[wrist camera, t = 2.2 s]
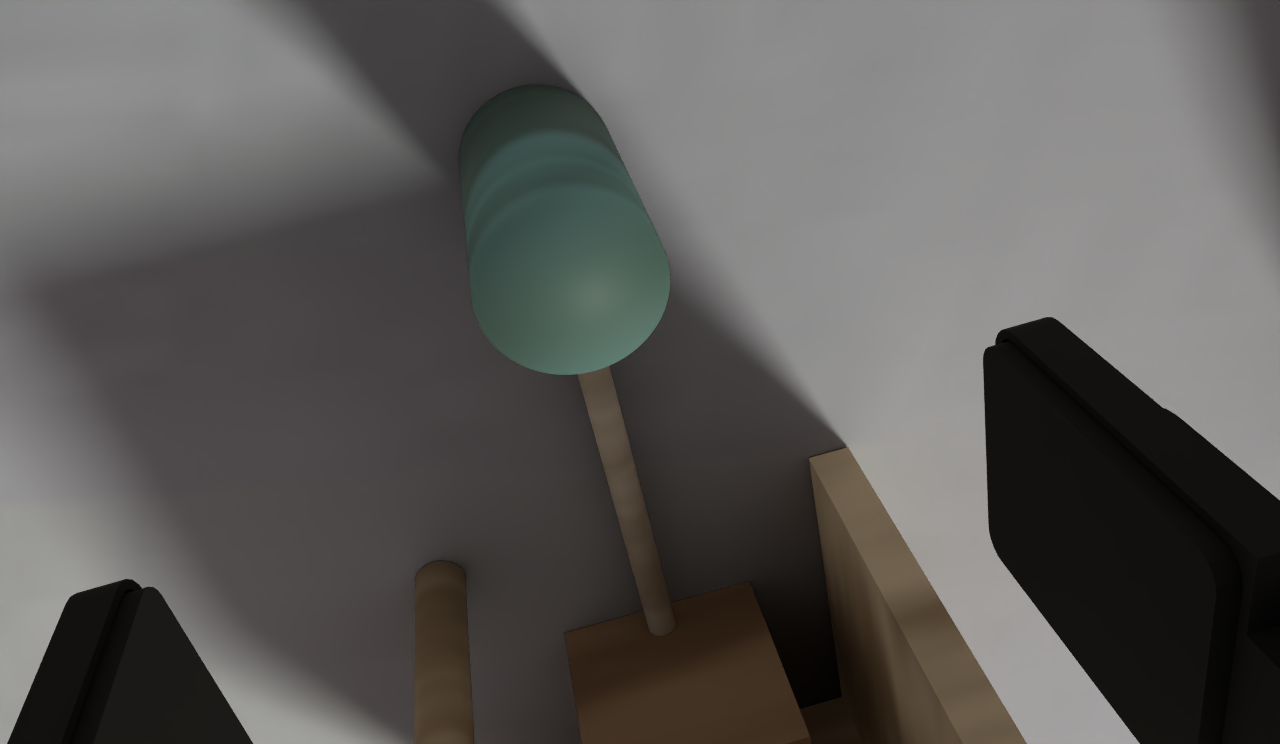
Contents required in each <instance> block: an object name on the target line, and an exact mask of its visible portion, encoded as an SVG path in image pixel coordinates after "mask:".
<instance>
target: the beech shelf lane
mask: <svg viewBox="0 0 1280 744" xmlns="http://www.w3.org/2000/svg"><path fill="white" fill-rule="evenodd" d="M809 463H810V470H811V478H812V485H813V492H814V499H815V506H816V513H817V521H818V528H819V535H820V542H821V549H822V557H823V564H824V571H825V578H826V585H827V592H828V600H829V607H830V614H831V621H832V628H833V636H834V643H835V650H836V657H837V664H838V671H839V679H840V686H841V693H842V697H840V698H837V699H833V700H830V701H826V702H823V703H819V704H816V705H812V706H809V707H805V708H802V709H800V712H801V714H802V717H803V719H804V722H805V725H806V727H807V730H808V732H809V735H810V738H811V744H1027V743H1026V742H1025V740H1024V738H1023V737H1022V735H1021V733H1020V732H1019V730H1018V728H1017V727H1016V725H1015V723H1014V722H1013V720H1012V718H1011V717H1010V715H1009V713H1008V712H1007V710H1006V708H1005V707H1004V705H1003V703H1002V702H1001V700H1000V698H999V697H998V695H997V693H996V692H995V690H994V688H993V687H992V685H991V683H990V682H989V680H988V679H987V677H986V675H985V674H984V672H983V670H982V669H981V667H980V665H979V664H978V662H977V660H976V659H975V657H974V655H973V654H972V652H971V650H970V649H969V647H968V645H967V644H966V642H965V640H964V639H963V637H962V635H961V634H960V632H959V630H958V629H957V627H956V625H955V624H954V622H953V620H952V619H951V617H950V615H949V614H948V612H947V611H946V609H945V607H944V606H943V604H942V602H941V601H940V599H939V597H938V596H937V594H936V592H935V591H934V589H933V587H932V586H931V584H930V582H929V581H928V579H927V577H926V576H925V574H924V572H923V571H922V569H921V567H920V566H919V564H918V562H917V561H916V559H915V557H914V556H913V554H912V552H911V551H910V549H909V547H908V546H907V544H906V543H905V541H904V539H903V538H902V536H901V534H900V533H899V531H898V529H897V528H896V526H895V524H894V523H893V521H892V519H891V518H890V516H889V514H888V513H887V511H886V509H885V508H884V506H883V504H882V503H881V501H880V499H879V498H878V496H877V494H876V493H875V491H874V489H873V488H872V486H871V484H870V483H869V481H868V480H867V478H866V476H865V475H864V473H863V471H862V470H861V468H860V466H859V465H858V463H857V461H856V460H855V458H854V456H853V455H852V453H851V451H850V450H849V448H848V447H847V448H843V449H840V450H836V451H833V452H829V453H825V454H822V455H818V456H815V457H811V458H809ZM414 744H474V727H473V709H472V690H471V672H470V653H469V634H468V616H467V597H466V578H465V573H464V571H463V570H462V569H461V568H460V567H459V566H458V565H456V564H454V563H452V562H447V561H436V562H432V563H429V564H427V565H425V566H424V567H422V568H421V569H420V570H419V571H418V573H417V575H416V578H415V679H414Z"/></svg>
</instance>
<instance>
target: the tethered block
mask: <svg viewBox="0 0 1280 744" xmlns="http://www.w3.org/2000/svg"><path fill="white" fill-rule="evenodd" d="M459 171H460V182H461V193H462V203H463V214H464V225H465V236H466V247H467V257H468V268H469V279H470V290H471V300H472V306H473V310H474V314H475V317H476V319H477V322H478V324H479V326H480V328H481V330H482V331H483V333H484V335H485V336H486V337H487V339H488V340H489V341H490V342H491V344H492V345H493V346H494V347H495V348H496V349H497V350H499V351H500V352H501V353H502V354H503V355H505V356H506V357H507V358H509V359H510V360H512V361H514V362H516V363H518V364H519V365H521V366H524V367H526V368H529V369H532V370H535V371H539V372H543V373H548V374H556V375H573V374H577V375H578V378H579V382H580V385H581V389H582V392H583V396H584V399H585V403H586V407H587V410H588V414H589V417H590V421H591V424H592V428H593V431H594V435H595V439H596V442H597V446H598V449H599V453H600V456H601V460H602V464H603V467H604V471H605V474H606V478H607V481H608V485H609V488H610V492H611V496H612V499H613V503H614V506H615V510H616V513H617V517H618V520H619V524H620V528H621V531H622V535H623V538H624V542H625V545H626V549H627V552H628V556H629V560H630V563H631V567H632V570H633V574H634V577H635V581H636V585H637V588H638V592H639V595H640V599H641V602H642V606H643V609H644V611H641V612H638V613H634V614H631V615H627V616H624V617H620V618H616V619H613V620H609V621H606V622H602V623H599V624H595V625H592V626H588V627H584V628H581V629H577V630H574V631H570V632H567V633H564V635H565V641H566V647H567V653H568V660H569V666H570V672H571V678H572V684H573V690H574V697H575V703H576V709H577V715H578V721H579V728H580V734H581V740H582V744H811V738H810V735H809V732H808V730H807V727H806V725H805V722H804V719H803V717H802V714H801V712H800V709H799V707H798V704H797V701H796V699H795V696H794V694H793V691H792V689H791V686H790V684H789V681H788V678H787V676H786V673H785V671H784V668H783V666H782V663H781V660H780V658H779V655H778V653H777V650H776V648H775V645H774V643H773V640H772V637H771V635H770V632H769V630H768V627H767V625H766V622H765V619H764V617H763V614H762V612H761V609H760V607H759V604H758V602H757V599H756V596H755V594H754V591H753V589H752V586H751V584H750V581H748V582H744V583H741V584H737V585H733V586H730V587H726V588H723V589H719V590H716V591H712V592H709V593H705V594H702V595H698V596H694V597H691V598H687V599H684V600H680V601H677V602H673V603H671V602H670V599H669V595H668V591H667V587H666V583H665V579H664V575H663V571H662V568H661V564H660V560H659V556H658V552H657V548H656V544H655V541H654V537H653V533H652V529H651V525H650V521H649V517H648V514H647V510H646V506H645V502H644V498H643V494H642V490H641V487H640V483H639V479H638V475H637V471H636V467H635V463H634V459H633V456H632V452H631V448H630V444H629V440H628V436H627V432H626V429H625V425H624V421H623V417H622V413H621V409H620V405H619V402H618V398H617V394H616V390H615V386H614V382H613V378H612V375H611V371H610V367H609V366H610V365H612V364H614V363H616V362H618V361H620V360H621V359H623V358H625V357H626V356H628V355H629V354H631V353H632V352H633V351H634V350H636V349H637V348H638V347H639V346H640V345H641V344H642V343H643V342H644V341H645V340H646V339H647V338H648V337H649V336H650V334H651V333H652V332H653V331H654V329H655V328H656V326H657V324H658V323H659V321H660V319H661V317H662V315H663V313H664V310H665V308H666V304H667V301H668V297H669V291H670V269H669V262H668V259H667V255H666V252H665V250H664V248H663V245H662V243H661V241H660V239H659V237H658V235H657V233H656V230H655V228H654V226H653V224H652V222H651V220H650V218H649V216H648V214H647V212H646V209H645V207H644V205H643V203H642V201H641V199H640V197H639V195H638V193H637V191H636V188H635V186H634V184H633V182H632V180H631V178H630V176H629V174H628V172H627V170H626V167H625V165H624V163H623V161H622V159H621V157H620V155H619V153H618V151H617V149H616V147H615V144H614V142H613V140H612V138H611V136H610V134H609V132H608V130H607V128H606V126H605V124H604V122H603V120H602V119H601V117H600V116H599V115H598V113H597V112H596V111H595V110H594V109H593V108H592V107H591V106H590V105H589V104H588V103H587V102H586V101H584V100H583V99H581V98H580V97H579V96H577V95H575V94H573V93H571V92H569V91H567V90H564V89H561V88H558V87H553V86H548V85H526V86H521V87H516V88H513V89H510V90H507V91H505V92H503V93H501V94H499V95H497V96H495V97H494V98H492V99H491V100H489V101H488V102H487V103H486V104H484V105H483V106H482V107H481V108H480V109H479V110H478V111H477V112H476V114H475V115H474V116H473V118H472V119H471V121H470V122H469V124H468V126H467V128H466V130H465V132H464V134H463V137H462V140H461V144H460V150H459Z"/></svg>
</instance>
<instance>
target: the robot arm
mask: <svg viewBox="0 0 1280 744" xmlns="http://www.w3.org/2000/svg"><path fill="white" fill-rule="evenodd" d="M983 370H984V400H985V430H986V459H987V489H988V519H989V532H990V537H991V540H992V543H993V546H994V548H995V550H996V553H997V555H998V556H999V558H1000V559H1001V561H1002V562H1003V564H1004V565H1005V566H1006V567H1007V569H1008V570H1009V571H1010V573H1011V574H1012V575H1013V577H1014V578H1015V579H1016V581H1017V582H1018V583H1019V585H1020V586H1021V587H1022V589H1023V590H1024V591H1025V593H1026V594H1027V595H1028V597H1029V598H1030V599H1031V600H1032V602H1033V603H1034V604H1035V606H1036V607H1037V608H1038V610H1039V611H1040V612H1041V614H1042V615H1043V616H1044V618H1045V619H1046V620H1047V622H1048V623H1049V624H1050V626H1051V627H1052V628H1053V630H1054V631H1055V632H1056V634H1057V635H1058V636H1059V637H1060V639H1061V640H1062V641H1063V643H1064V644H1065V645H1066V647H1067V648H1068V649H1069V651H1070V652H1071V653H1072V655H1073V656H1074V657H1075V659H1076V660H1077V661H1078V663H1079V664H1080V665H1081V667H1082V668H1083V669H1084V670H1085V672H1086V673H1087V674H1088V676H1089V677H1090V678H1091V680H1092V681H1093V682H1094V684H1095V685H1096V686H1097V688H1098V689H1099V690H1100V692H1101V693H1102V694H1103V696H1104V697H1105V698H1106V700H1107V701H1108V702H1109V703H1110V705H1111V706H1112V707H1113V709H1114V710H1115V711H1116V713H1117V714H1118V715H1119V717H1120V718H1121V719H1122V721H1123V722H1124V723H1125V725H1126V726H1127V727H1128V729H1129V730H1130V731H1131V733H1132V734H1133V735H1134V737H1135V738H1136V739H1137V740H1138V742H1139V743H1140V744H1280V500H1278V499H1277V498H1276V497H1275V496H1274V495H1272V494H1271V493H1270V492H1269V491H1268V490H1266V489H1265V488H1264V487H1263V486H1261V485H1260V484H1259V483H1258V482H1257V481H1255V480H1254V479H1253V478H1252V477H1251V476H1249V475H1248V474H1247V473H1246V472H1245V471H1243V470H1242V469H1241V468H1240V467H1239V466H1237V465H1236V464H1235V463H1234V462H1233V461H1231V460H1230V459H1229V458H1228V457H1227V456H1225V455H1224V454H1223V453H1222V452H1220V451H1219V450H1218V449H1217V448H1216V447H1214V446H1213V445H1212V444H1211V443H1210V442H1208V441H1207V440H1206V439H1205V438H1204V437H1202V436H1201V435H1200V434H1199V433H1198V432H1196V431H1195V430H1194V429H1193V428H1192V427H1190V426H1189V425H1188V424H1187V423H1185V422H1184V421H1183V420H1182V419H1181V418H1179V417H1178V416H1177V415H1175V414H1174V413H1172V412H1170V411H1169V410H1167V409H1164V408H1162V407H1161V406H1160V405H1159V404H1157V403H1156V402H1155V401H1154V400H1153V399H1151V398H1150V397H1149V396H1148V395H1147V394H1145V393H1144V392H1143V391H1142V390H1141V389H1139V388H1138V387H1137V386H1136V385H1135V384H1133V383H1132V382H1131V381H1130V380H1129V379H1127V378H1126V377H1125V376H1124V375H1123V374H1121V373H1120V372H1119V371H1118V370H1117V369H1115V368H1114V367H1113V366H1112V365H1111V364H1109V363H1108V362H1107V361H1106V360H1105V359H1104V358H1102V357H1101V356H1100V355H1099V354H1098V353H1096V352H1095V351H1094V350H1093V349H1092V348H1090V347H1089V346H1088V345H1087V344H1086V343H1084V342H1083V341H1082V340H1081V339H1080V338H1078V337H1077V336H1076V335H1075V334H1074V333H1072V332H1071V331H1070V330H1069V329H1068V328H1066V327H1065V326H1064V325H1063V324H1062V323H1060V322H1059V321H1058V320H1056V319H1054V318H1053V317H1046V318H1042V319H1039V320H1035V321H1032V322H1028V323H1025V324H1021V325H1018V326H1014V327H1011V328H1007V329H1004V330H1001V331H1000V332H999V333H998V335H997V338H996V343H995V345H994V346H991V347H988V348H987V349H985V352H984V356H983ZM7 744H253V743H252V741H251V739H250V738H249V736H248V734H247V733H246V731H245V730H244V728H243V726H242V725H241V723H240V721H239V720H238V718H237V717H236V715H235V713H234V712H233V710H232V708H231V707H230V705H229V704H228V702H227V700H226V699H225V697H224V696H223V694H222V692H221V691H220V689H219V687H218V686H217V684H216V683H215V681H214V679H213V678H212V676H211V674H210V673H209V671H208V670H207V668H206V666H205V665H204V663H203V661H202V660H201V658H200V657H199V655H198V653H197V652H196V650H195V648H194V647H193V645H192V644H191V642H190V640H189V639H188V637H187V635H186V634H185V632H184V631H183V629H182V627H181V626H180V624H179V622H178V621H177V619H176V618H175V616H174V614H173V613H172V611H171V609H170V608H169V606H168V605H167V603H166V601H165V600H164V598H163V597H162V595H161V594H160V593H159V591H158V590H157V589H155V588H154V587H146V588H143V589H142V588H141V587H140V585H139V584H138V583H136V582H135V581H133V580H129V579H125V580H121V581H118V582H114V583H111V584H107V585H104V586H100V587H97V588H93V589H90V590H86V591H83V592H79V593H76V594H74V595H73V596H71V597H70V598H69V600H68V601H67V603H66V605H65V607H64V609H63V612H62V614H61V617H60V619H59V621H58V624H57V626H56V628H55V631H54V633H53V636H52V638H51V640H50V643H49V645H48V648H47V650H46V652H45V655H44V657H43V660H42V662H41V664H40V667H39V669H38V672H37V674H36V676H35V679H34V681H33V684H32V686H31V688H30V691H29V693H28V695H27V698H26V700H25V703H24V705H23V707H22V710H21V712H20V715H19V717H18V719H17V722H16V724H15V727H14V729H13V731H12V734H11V736H10V739H9V741H8V743H7Z"/></svg>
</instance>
